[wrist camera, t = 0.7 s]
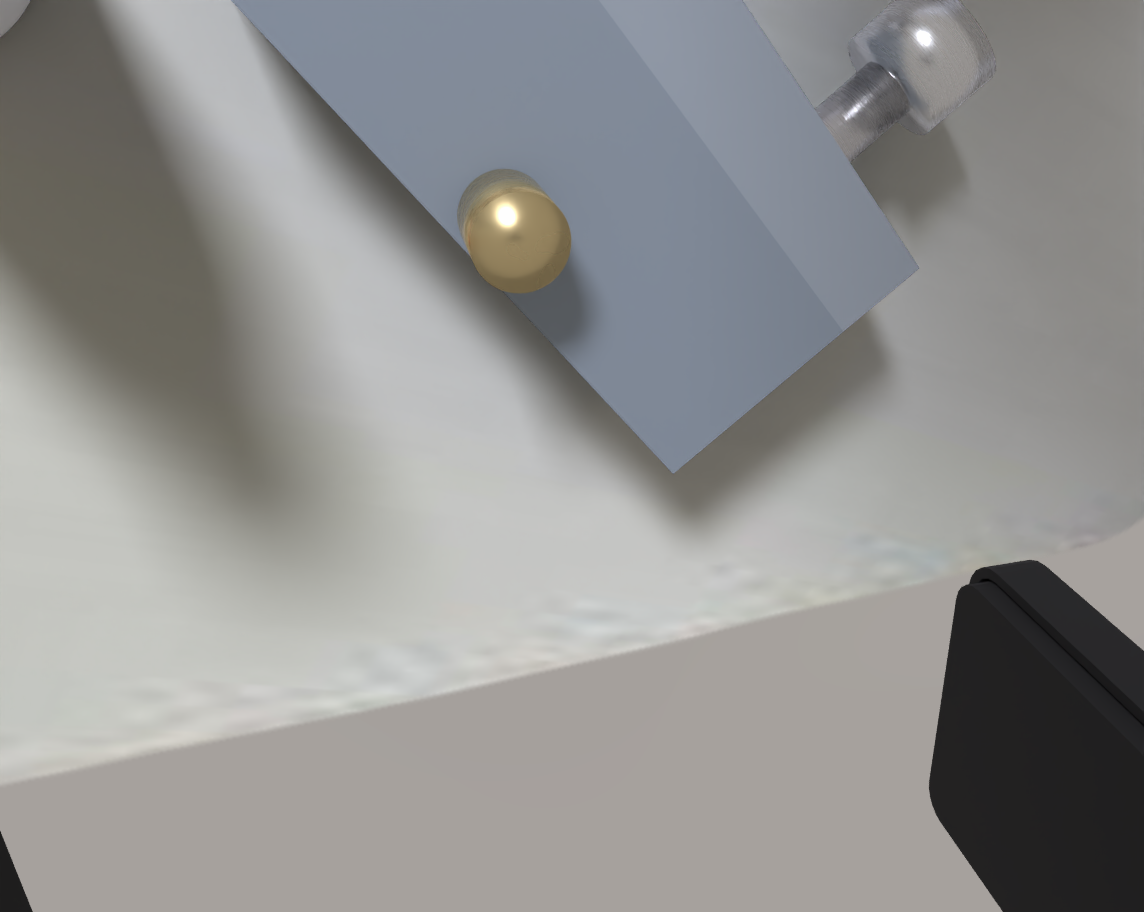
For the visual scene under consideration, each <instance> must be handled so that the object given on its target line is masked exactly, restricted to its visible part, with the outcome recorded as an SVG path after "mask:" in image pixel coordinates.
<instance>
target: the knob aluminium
mask: <svg viewBox="0 0 1144 912" xmlns="http://www.w3.org/2000/svg"><path fill="white" fill-rule="evenodd" d="M848 51H849V56H850V59H851V62H852V64H853V66H854V68H855V70H856V72H857V73H855V74H854V75H853V76H852V77H851V78H850V79H849V80H848V81H846V82H845V83H844V84H843V85H842V86H841V87H840V88H838V89H837V90H836V91H835V92H834V93H833V94H832V95H830V96H829V97H828V98H827V99H826V100H825V101H824V102H822V103H821V104H820V105H819V106H818V107H817V108H816V109H815V111H816V112H817V114H818V115H819V117H820V118H821V120H822V121H823V123H824V124H825V126H826V127H827V129H828V130H829V132H830V133H831V135H832V136H833V138H834V139H835V141H836V142H837V144H838V145H839V147H840V148H841V150H842V151H843V153H844V154H845V156H846V157H847V159H848V160H849V162H851V161H852V160H853V159H854V158H856V157H857V156H858V155H859V154H860V153H861V152H862V151H864V150H865V149H866V148H867V147H868V146H869V145H871V144H872V143H873V142H874V141H875V140H876V139H878V138H879V137H880V136H881V135H882V134H883V133H884V132H886V131H887V130H888V129H889V128H890V127H891V126H893V125H894V124H895V123H896V122H898V123H899V124H901V125H902V126H903V127H905V128H906V129H908V130H909V131H911V132H913V133H916V134H919V135H925V134H927V133H928V132H929V131H930V130H932V129H933V128H934V127H935V126H936V125H937V124H939V123H940V122H941V121H942V120H943V119H944V118H946V117H947V116H948V115H949V114H950V113H951V112H953V111H954V110H955V109H956V108H957V107H958V106H960V105H961V104H962V103H963V102H964V101H965V100H967V99H968V98H969V97H970V96H971V95H972V94H974V93H975V92H976V91H977V90H978V89H979V88H981V87H982V86H983V85H984V84H985V83H986V82H988V81H989V80H990V79H991V78H992V77H993V76H994V74H995V71H996V62H995V57H994V53H993V50H992V48H991V45H990V43H989V41H988V39H987V37H986V35H985V33H984V32H983V30H982V28H981V27H980V25H979V24H978V22H977V21H976V20H975V18H974V17H973V16H972V14H971V13H970V12H969V11H968V10H967V8H966V7H965V6H964V5H963V4H962V3H961V2H960V1H959V0H894V1H893V2H892V3H891V4H890V5H889V6H888V7H887V8H885V9H884V10H883V11H882V12H881V13H880V14H879V15H878V16H876V17H875V18H874V19H873V20H872V21H871V22H870V23H868V24H867V25H866V26H865V27H864V28H863V29H862V30H861V31H859V32H858V33H857V34H856V35H855V36H854V37H853V38H852V39H850V41H849V43H848Z"/></svg>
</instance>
